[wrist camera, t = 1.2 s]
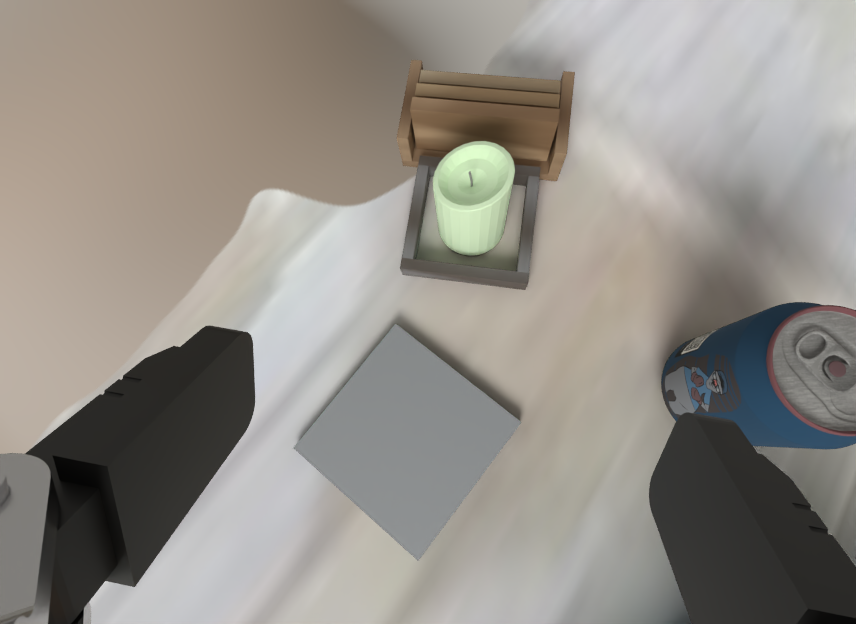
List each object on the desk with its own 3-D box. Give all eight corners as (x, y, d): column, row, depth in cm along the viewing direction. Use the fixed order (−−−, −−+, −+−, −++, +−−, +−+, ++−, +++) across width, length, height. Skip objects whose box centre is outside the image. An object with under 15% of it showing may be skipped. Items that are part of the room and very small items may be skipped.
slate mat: (397, 325, 35) (395, 323, 35) (520, 422, 33) (521, 422, 32) (297, 447, 34) (293, 448, 33) (419, 557, 32) (418, 560, 31)
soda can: (784, 398, 32) (964, 380, 21) (708, 466, 32) (850, 486, 20) (705, 320, 34) (832, 261, 22) (632, 382, 33) (721, 356, 22)
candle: (429, 245, 37) (419, 193, 29) (450, 187, 38) (446, 122, 30) (492, 264, 36) (500, 217, 28) (512, 205, 37) (525, 143, 29)
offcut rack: (416, 94, 40) (408, 41, 34) (564, 106, 39) (580, 53, 33) (383, 272, 36) (369, 244, 31) (545, 292, 35) (559, 267, 30)
